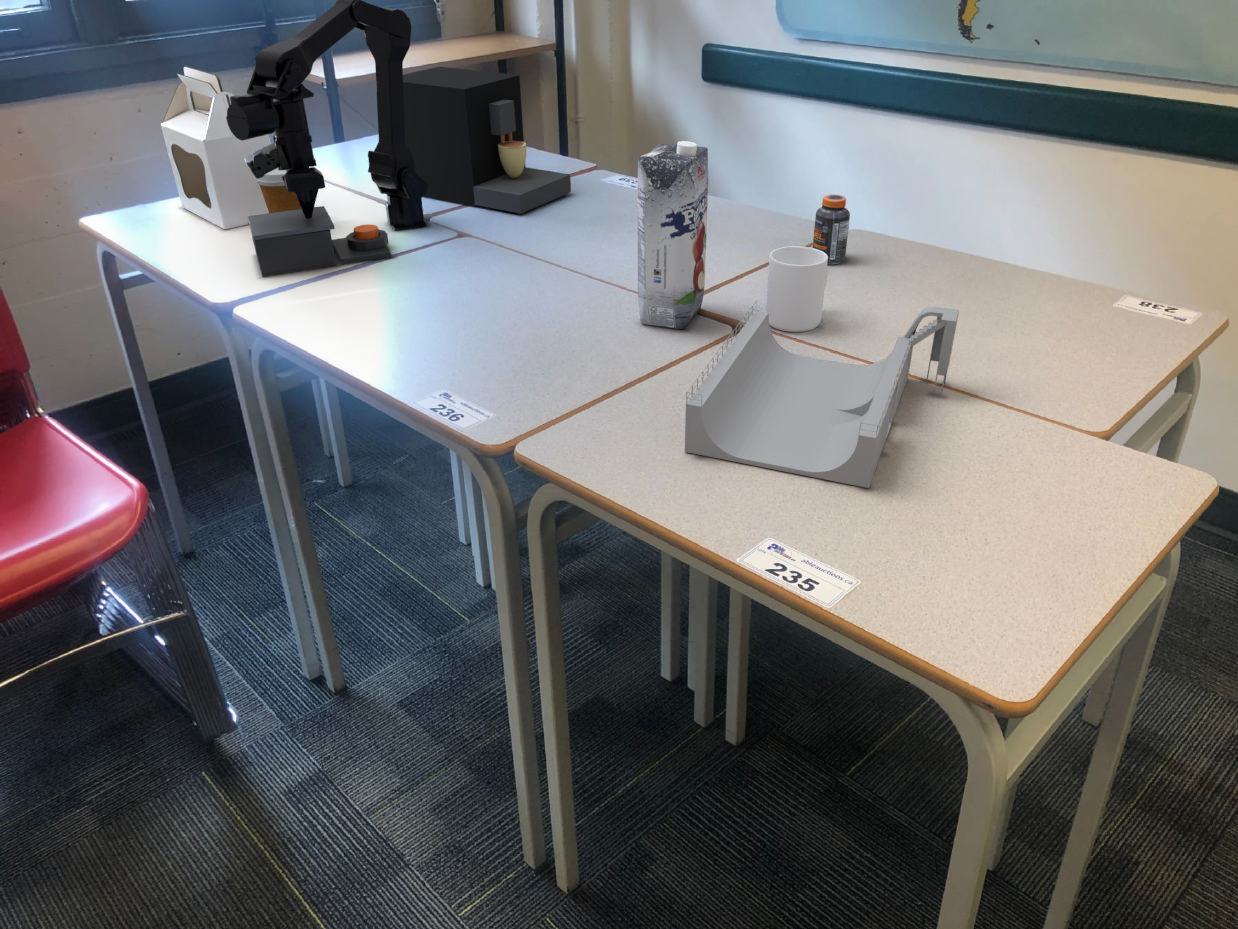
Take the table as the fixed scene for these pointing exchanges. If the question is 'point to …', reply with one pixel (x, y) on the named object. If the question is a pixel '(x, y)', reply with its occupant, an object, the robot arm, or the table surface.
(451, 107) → the coffee maker
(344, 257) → the button base
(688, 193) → the juice carton
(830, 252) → the pill bottle
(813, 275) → the mug
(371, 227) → the button
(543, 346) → the table surface
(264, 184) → the disposable coffee cup
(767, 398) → the skate ramp
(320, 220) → the lid
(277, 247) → the dark grey boxy piece
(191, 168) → the gable box
